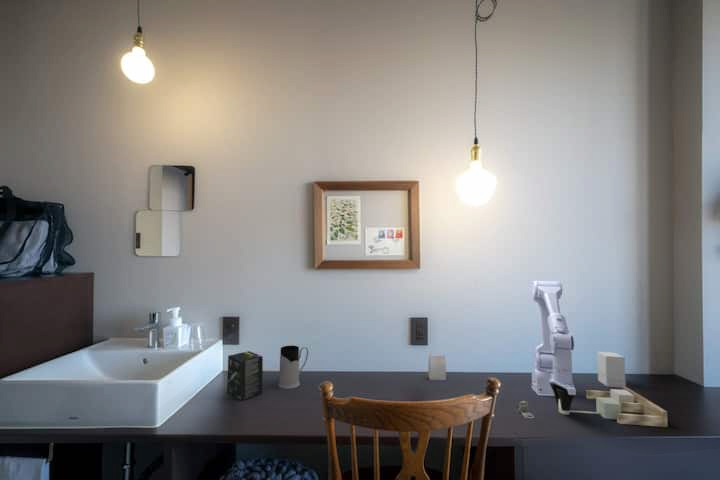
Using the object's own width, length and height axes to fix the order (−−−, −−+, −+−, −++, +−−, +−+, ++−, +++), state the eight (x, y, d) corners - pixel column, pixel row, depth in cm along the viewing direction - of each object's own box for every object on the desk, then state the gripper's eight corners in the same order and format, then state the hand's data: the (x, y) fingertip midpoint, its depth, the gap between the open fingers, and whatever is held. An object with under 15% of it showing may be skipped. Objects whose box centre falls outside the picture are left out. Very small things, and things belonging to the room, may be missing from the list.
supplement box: (626, 388, 137) (625, 357, 138) (606, 386, 139) (605, 356, 139) (616, 381, 144) (615, 352, 145) (597, 380, 146) (596, 351, 146)
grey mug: (273, 384, 138) (274, 348, 138) (300, 375, 148) (301, 341, 149) (287, 390, 132) (287, 352, 133) (314, 380, 143) (314, 345, 143)
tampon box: (263, 394, 128) (263, 355, 129) (240, 401, 121) (241, 361, 122) (248, 386, 136) (249, 350, 136) (226, 393, 129) (227, 354, 130)
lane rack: (618, 423, 108) (618, 408, 108) (586, 397, 127) (586, 384, 128) (667, 427, 106) (667, 411, 106) (626, 400, 125) (626, 387, 126)
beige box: (445, 380, 144) (445, 356, 145) (430, 380, 144) (430, 356, 145) (443, 377, 148) (443, 354, 149) (428, 377, 148) (428, 354, 149)
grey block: (619, 408, 119) (618, 394, 119) (610, 402, 124) (610, 389, 124) (634, 409, 118) (634, 395, 118) (625, 403, 123) (625, 389, 123)
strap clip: (535, 420, 110) (535, 407, 111) (526, 420, 110) (526, 407, 110) (521, 408, 119) (521, 396, 119) (513, 408, 119) (513, 396, 119)
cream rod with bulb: (562, 415, 113) (562, 400, 113) (556, 408, 118) (555, 394, 118) (621, 419, 110) (621, 404, 110) (612, 412, 115) (611, 397, 115)
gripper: (541, 360, 123) (542, 398, 123) (559, 374, 109) (559, 416, 108) (562, 361, 122) (562, 399, 122) (582, 375, 108) (583, 418, 107)
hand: (563, 407), depth 115 cm, fingers closed on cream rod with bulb, 3 cm apart
